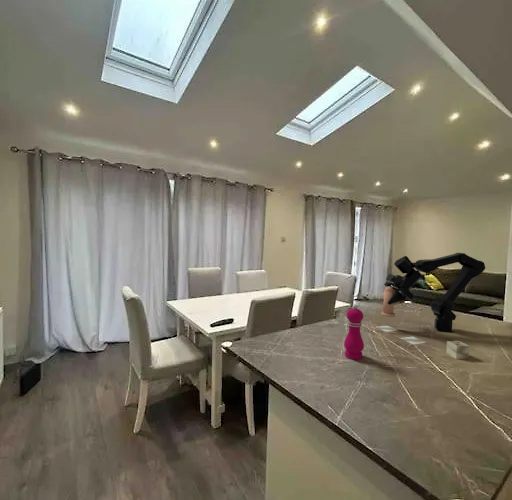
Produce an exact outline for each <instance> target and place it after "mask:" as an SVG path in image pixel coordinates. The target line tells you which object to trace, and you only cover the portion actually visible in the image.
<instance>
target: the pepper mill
mask: <svg viewBox="0 0 512 500" xmlns="http://www.w3.org/2000/svg"><path fill="white" fill-rule="evenodd" d="M346 319H348V320H347V326H348V333H347V335H346V337H345V339H344V341H343V346H344V348H345V350H344V356H345V358H347V359H350V360H353V361H354V360H356V361H358V360H361V359H362V358H363V350H364V349H365V343H364V340H363V337H362V333H361V327H362V326H363V325H362V324H363V323H362V321H363V319H364V313H363V312H362V310H361V309H359V308H358V305H357V304H354V305H352V308H349V309H348V311H347V312H346Z"/></svg>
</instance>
